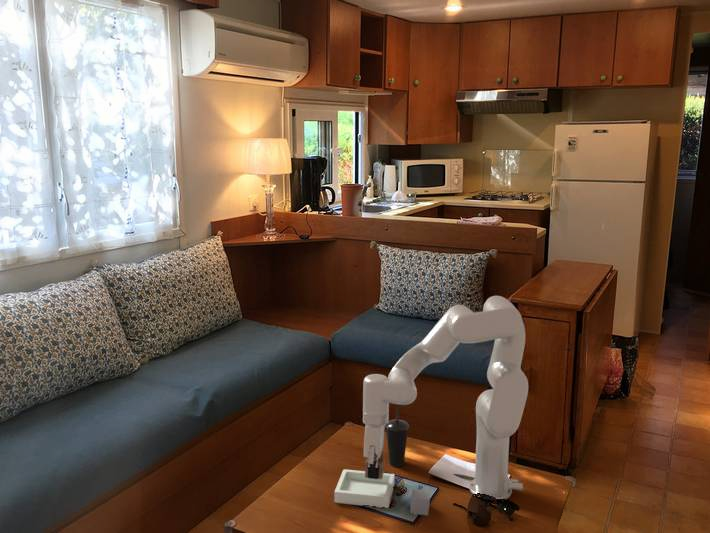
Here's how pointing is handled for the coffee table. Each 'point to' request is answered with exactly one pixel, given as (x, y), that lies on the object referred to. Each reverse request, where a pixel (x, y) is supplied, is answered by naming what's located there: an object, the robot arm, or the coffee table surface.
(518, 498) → the coffee table surface
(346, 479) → the white tray
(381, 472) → the walnut block
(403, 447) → the drinking cup
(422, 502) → the grey block
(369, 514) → the coffee table surface
